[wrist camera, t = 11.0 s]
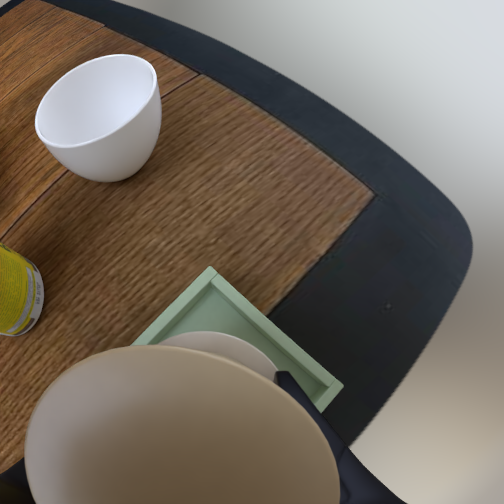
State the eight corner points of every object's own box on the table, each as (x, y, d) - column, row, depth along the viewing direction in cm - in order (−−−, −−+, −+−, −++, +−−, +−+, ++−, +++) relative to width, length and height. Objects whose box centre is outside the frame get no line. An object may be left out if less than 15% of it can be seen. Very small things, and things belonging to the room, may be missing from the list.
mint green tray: (327, 381, 17) (344, 385, 15) (222, 488, 15) (221, 509, 12) (212, 278, 19) (209, 264, 16) (108, 385, 16) (88, 388, 13)
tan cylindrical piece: (240, 482, 11) (264, 648, 2) (123, 421, 12) (-32, 498, 2) (301, 373, 13) (451, 396, 4) (182, 312, 13) (86, 211, 4)
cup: (111, 226, 19) (68, 172, 13) (47, 152, 21) (10, 99, 15) (193, 151, 22) (184, 81, 15) (117, 94, 23) (97, 35, 17)
